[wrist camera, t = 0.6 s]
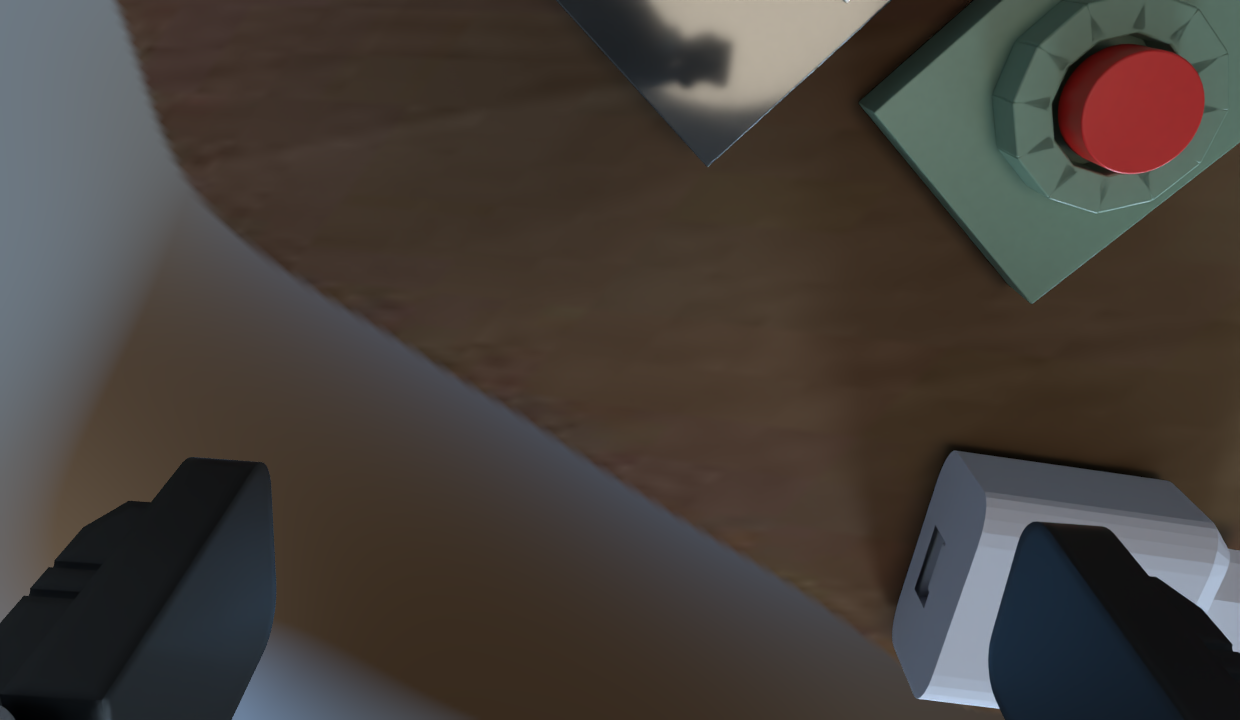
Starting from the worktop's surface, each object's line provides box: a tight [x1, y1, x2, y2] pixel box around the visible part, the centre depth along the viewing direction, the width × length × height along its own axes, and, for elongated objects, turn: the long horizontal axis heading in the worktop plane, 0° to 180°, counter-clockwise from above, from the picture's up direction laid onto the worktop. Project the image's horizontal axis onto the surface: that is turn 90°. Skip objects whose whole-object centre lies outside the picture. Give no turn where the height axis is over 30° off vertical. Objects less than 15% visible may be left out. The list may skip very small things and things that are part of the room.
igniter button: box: [1058, 44, 1205, 174], centre depth 31 cm, size 4×4×2 cm
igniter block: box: [859, 0, 1240, 304], centre depth 33 cm, size 11×9×4 cm
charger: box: [892, 450, 1240, 709], centre depth 40 cm, size 5×9×15 cm
